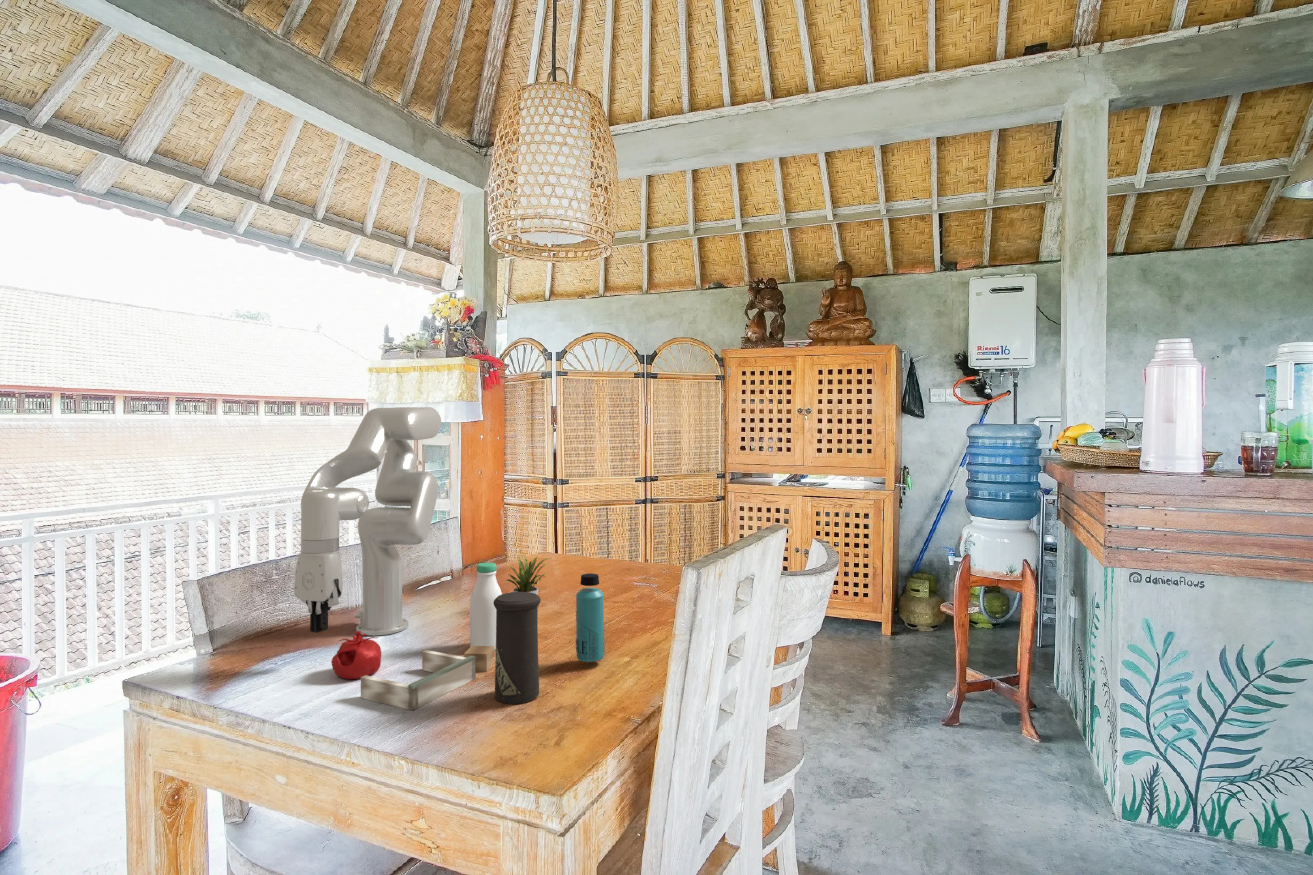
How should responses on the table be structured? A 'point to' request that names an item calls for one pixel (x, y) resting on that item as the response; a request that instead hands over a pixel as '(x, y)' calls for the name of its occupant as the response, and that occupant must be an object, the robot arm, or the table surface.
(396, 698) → the display stand
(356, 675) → the pomegranate
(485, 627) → the milk bottle
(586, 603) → the beverage bottle
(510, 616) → the container
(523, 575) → the house plant
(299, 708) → the table surface
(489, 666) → the teak block
